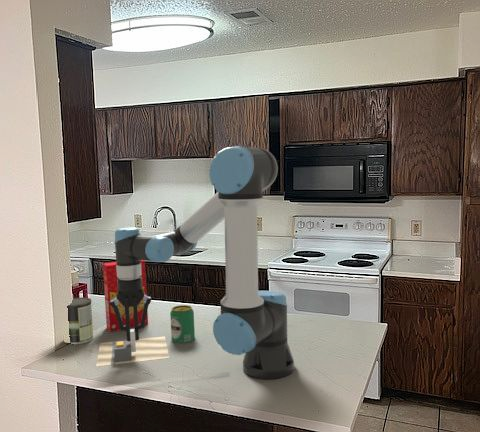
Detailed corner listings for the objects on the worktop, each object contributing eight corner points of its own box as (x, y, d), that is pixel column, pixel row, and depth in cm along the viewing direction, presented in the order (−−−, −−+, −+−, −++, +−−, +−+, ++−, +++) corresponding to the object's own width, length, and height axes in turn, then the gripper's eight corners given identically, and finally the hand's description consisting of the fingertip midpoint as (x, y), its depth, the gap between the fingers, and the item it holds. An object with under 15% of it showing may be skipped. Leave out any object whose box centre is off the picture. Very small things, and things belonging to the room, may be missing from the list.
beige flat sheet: (169, 361, 150) (169, 357, 150) (96, 370, 145) (96, 366, 145) (165, 339, 169) (164, 336, 169) (100, 346, 165) (100, 343, 165)
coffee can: (64, 346, 166) (61, 306, 164) (62, 337, 175) (60, 299, 174) (95, 341, 170) (92, 302, 169) (92, 332, 179) (89, 295, 178)
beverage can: (166, 342, 166) (165, 309, 165) (183, 336, 172) (182, 303, 171) (182, 347, 161) (181, 312, 160) (199, 340, 167) (198, 307, 166)
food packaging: (110, 331, 180) (106, 265, 178) (106, 327, 185) (102, 263, 182) (148, 324, 187) (144, 260, 185) (143, 320, 192) (140, 258, 190)
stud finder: (131, 360, 149) (130, 345, 148) (114, 362, 148) (114, 347, 147) (131, 352, 156) (130, 338, 155) (115, 353, 155) (114, 339, 154)
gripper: (150, 273, 155) (153, 343, 157) (108, 276, 152) (112, 348, 155) (151, 278, 148) (154, 352, 150) (107, 281, 145) (111, 357, 147)
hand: (133, 350), depth 152 cm, fingers closed
